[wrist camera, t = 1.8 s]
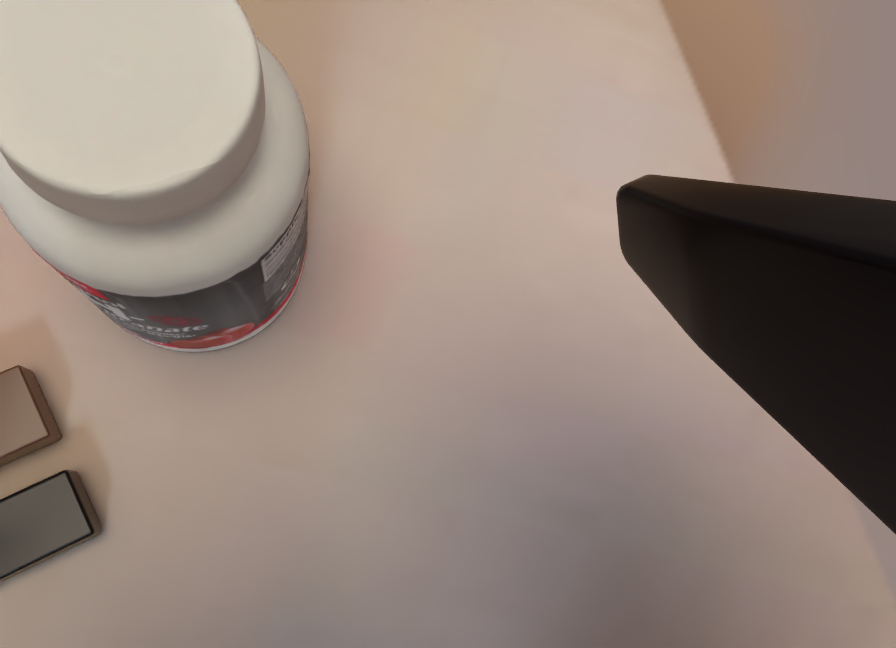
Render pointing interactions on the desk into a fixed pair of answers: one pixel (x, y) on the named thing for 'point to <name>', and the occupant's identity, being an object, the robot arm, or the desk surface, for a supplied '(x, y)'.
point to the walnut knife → (23, 415)
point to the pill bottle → (155, 162)
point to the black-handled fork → (44, 522)
